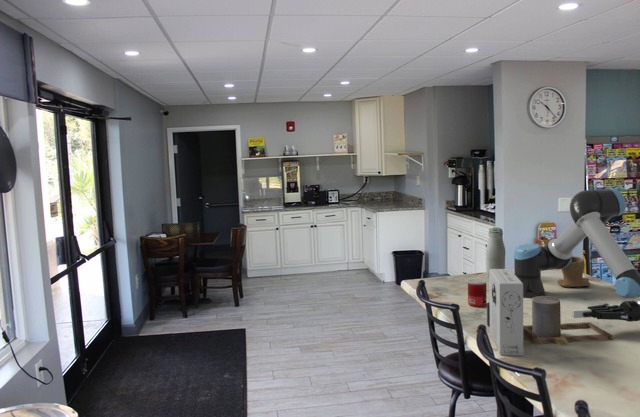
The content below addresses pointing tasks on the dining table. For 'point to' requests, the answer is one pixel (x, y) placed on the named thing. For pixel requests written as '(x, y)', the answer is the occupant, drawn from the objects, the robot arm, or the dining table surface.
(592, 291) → the dining table surface
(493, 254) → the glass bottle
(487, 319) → the supplement bottle
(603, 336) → the frame
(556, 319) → the pillar candle
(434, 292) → the dining table surface
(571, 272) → the stone cup
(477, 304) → the canned food
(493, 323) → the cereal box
